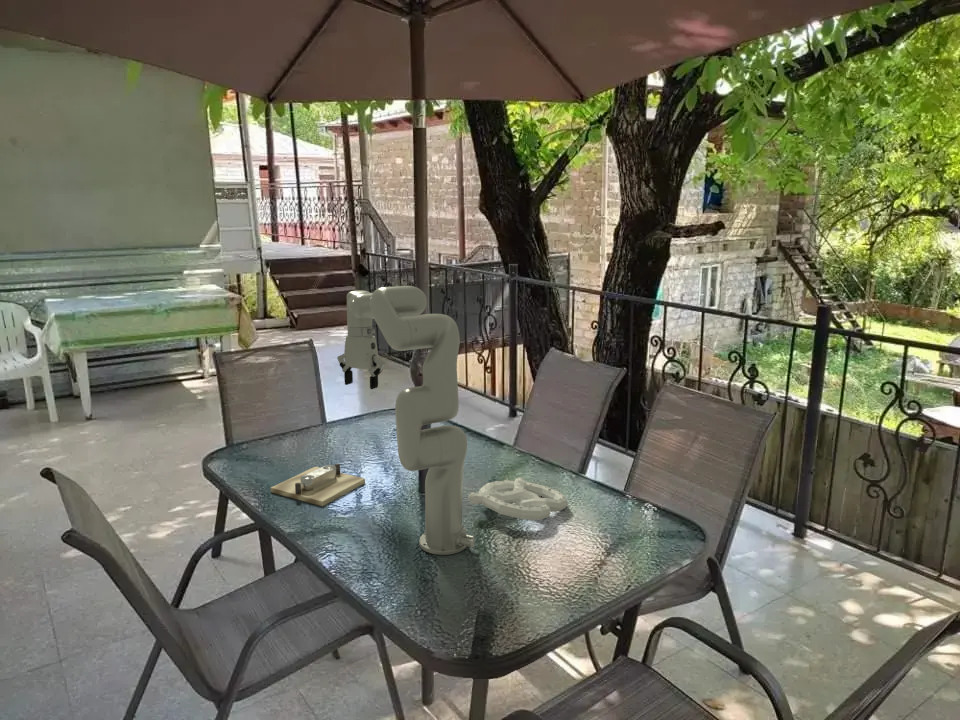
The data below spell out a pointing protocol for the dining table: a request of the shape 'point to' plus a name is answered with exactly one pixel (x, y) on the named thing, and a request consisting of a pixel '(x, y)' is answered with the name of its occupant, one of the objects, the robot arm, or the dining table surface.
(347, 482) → the board
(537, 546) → the dining table surface
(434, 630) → the dining table surface
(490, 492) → the pretzel
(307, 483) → the grey capsule bar
